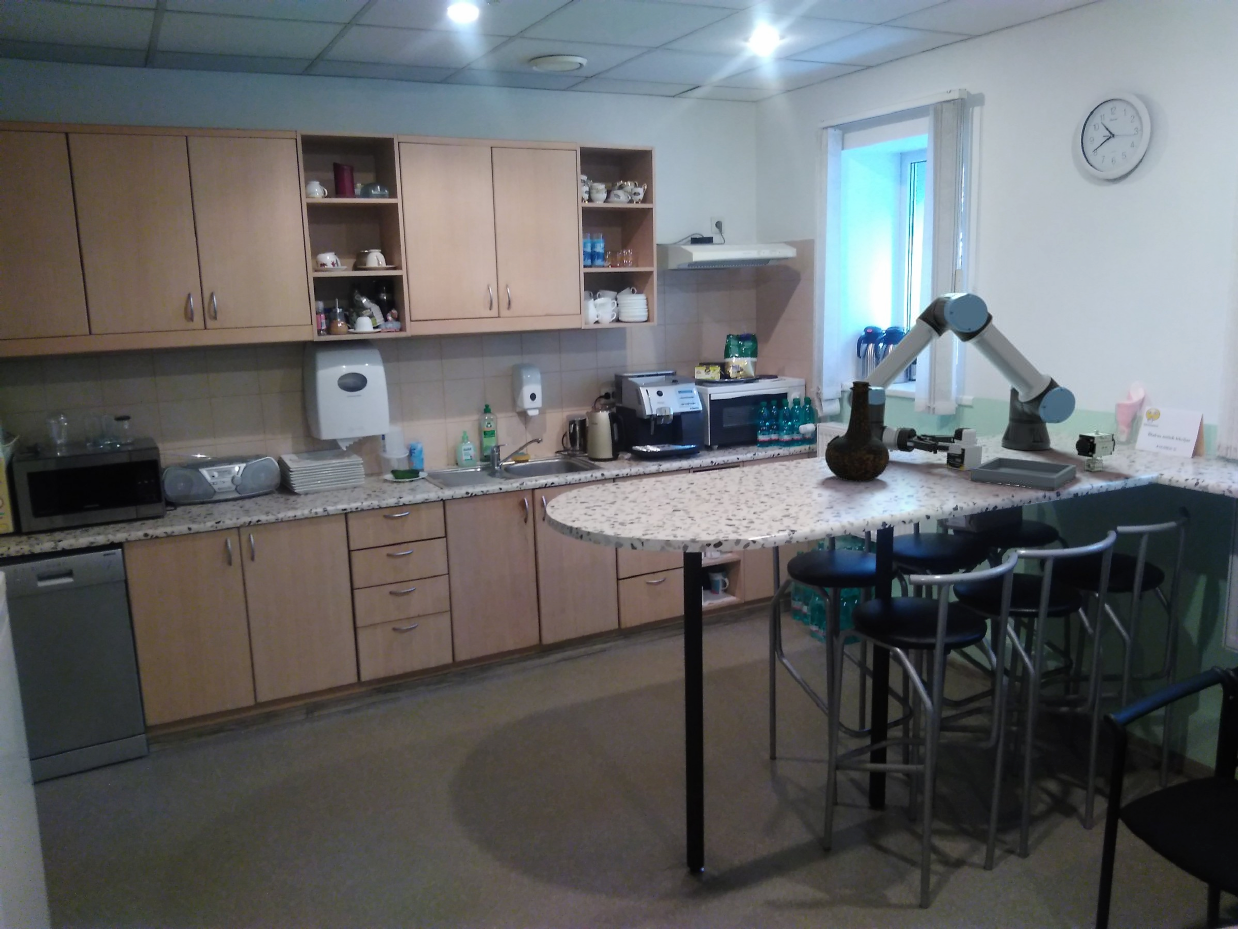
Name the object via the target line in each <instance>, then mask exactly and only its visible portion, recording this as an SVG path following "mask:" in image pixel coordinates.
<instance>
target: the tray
mask: <svg viewBox="0 0 1238 929" xmlns="http://www.w3.org/2000/svg"><path fill="white" fill-rule="evenodd" d="M1076 477H1077V465H1075V464H1068V463H1067V464H1066V463H1059V462H1047V461H1040V460H1039V461H1037V460H1029V459H1022V458H1021V459H1019V458H1011V457H1004V456H1003V457H1001V456H996V457H994V458H991V459H988V460H987V461H985V462H983V463H982V462H981V464H980V465H978V466H976V467H974V468H971V470H970V482H977V481H981V482H980V483H985V482H990V483H989V484H993V483H1001V484H1010V485H1019V486H1025V487H1031V488H1030V489H1034V488H1036V489H1035V490H1043V491H1053V492H1055V491H1057V490H1058V489H1059V487H1060V488H1062V485H1063V484H1064V485H1066V484H1068V483H1069V482H1070V480H1071V481H1072V480H1073V478H1074V479H1076ZM1068 481H1069V482H1068ZM1065 483H1066V484H1065ZM1001 484H1000V485H1001ZM1064 485H1063V486H1064ZM1025 487H1024V488H1025Z"/></svg>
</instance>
